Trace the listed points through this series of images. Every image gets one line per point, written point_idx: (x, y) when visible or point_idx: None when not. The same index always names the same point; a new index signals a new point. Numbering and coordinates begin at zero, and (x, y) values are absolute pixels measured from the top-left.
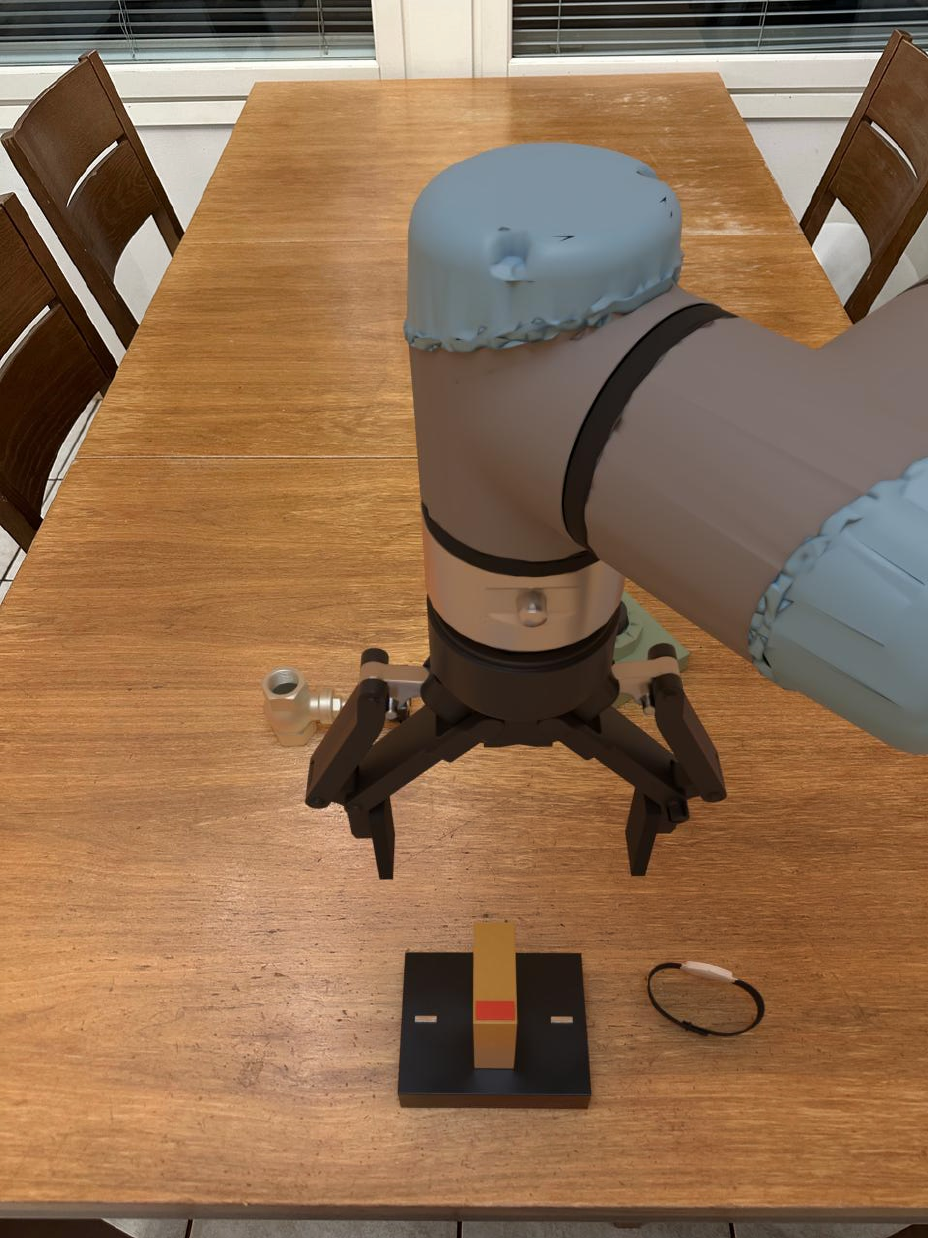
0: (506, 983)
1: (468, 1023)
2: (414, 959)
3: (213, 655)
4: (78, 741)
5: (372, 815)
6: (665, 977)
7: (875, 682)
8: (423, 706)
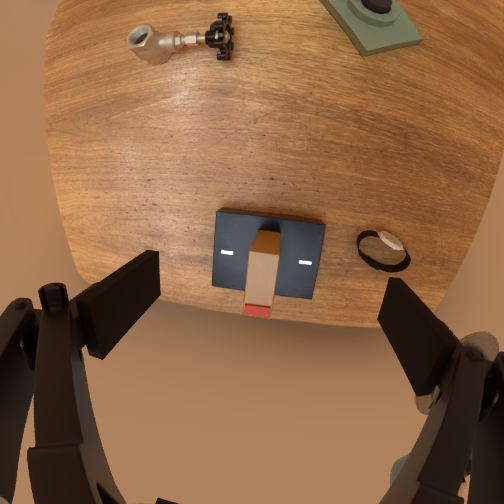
0: (267, 295)
1: None
2: (221, 216)
3: (121, 19)
4: (64, 82)
5: (91, 354)
6: None
7: None
8: (36, 444)
